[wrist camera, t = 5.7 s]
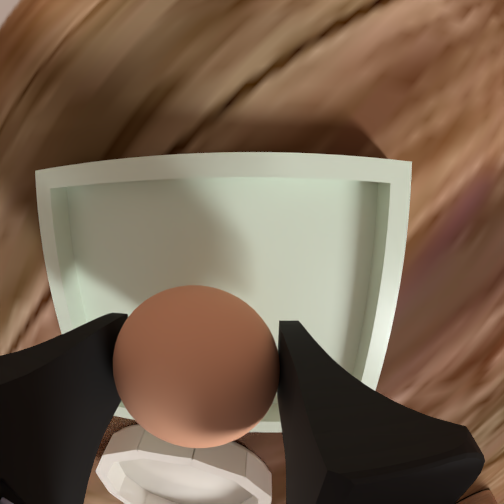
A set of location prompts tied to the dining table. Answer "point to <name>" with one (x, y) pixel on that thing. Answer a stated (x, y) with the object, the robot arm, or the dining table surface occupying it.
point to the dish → (181, 472)
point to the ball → (196, 366)
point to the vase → (479, 498)
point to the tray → (235, 242)
